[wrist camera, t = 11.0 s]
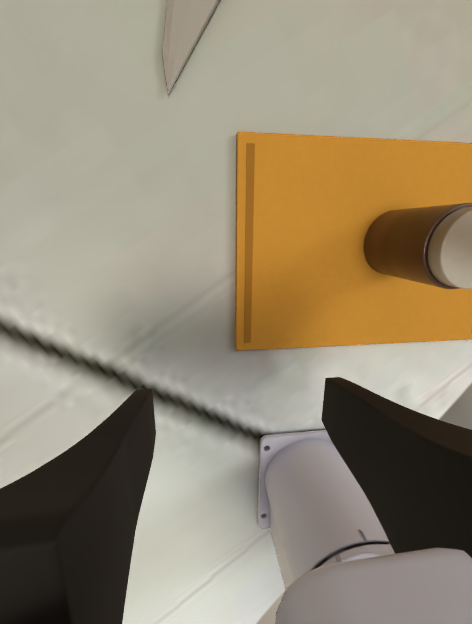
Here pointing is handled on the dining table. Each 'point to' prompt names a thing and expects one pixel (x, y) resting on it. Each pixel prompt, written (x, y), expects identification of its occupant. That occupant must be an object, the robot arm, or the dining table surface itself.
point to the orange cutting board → (338, 240)
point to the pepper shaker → (423, 245)
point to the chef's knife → (183, 33)
